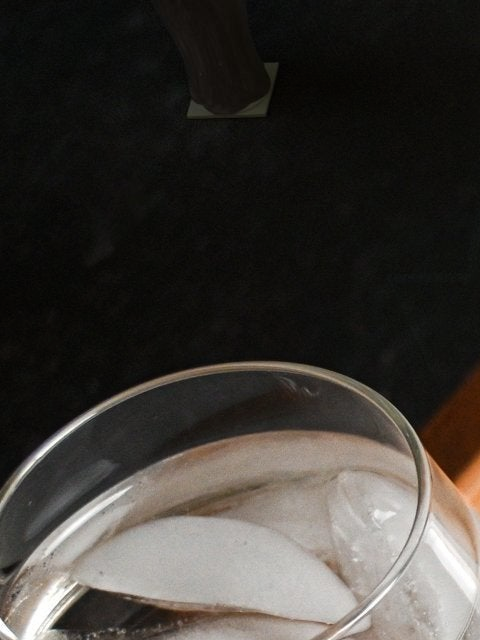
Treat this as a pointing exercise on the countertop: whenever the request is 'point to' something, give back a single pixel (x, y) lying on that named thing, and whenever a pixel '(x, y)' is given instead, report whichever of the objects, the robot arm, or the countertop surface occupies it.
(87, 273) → the countertop surface
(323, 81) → the countertop surface
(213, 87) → the beer glass
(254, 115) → the tile
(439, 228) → the countertop surface
